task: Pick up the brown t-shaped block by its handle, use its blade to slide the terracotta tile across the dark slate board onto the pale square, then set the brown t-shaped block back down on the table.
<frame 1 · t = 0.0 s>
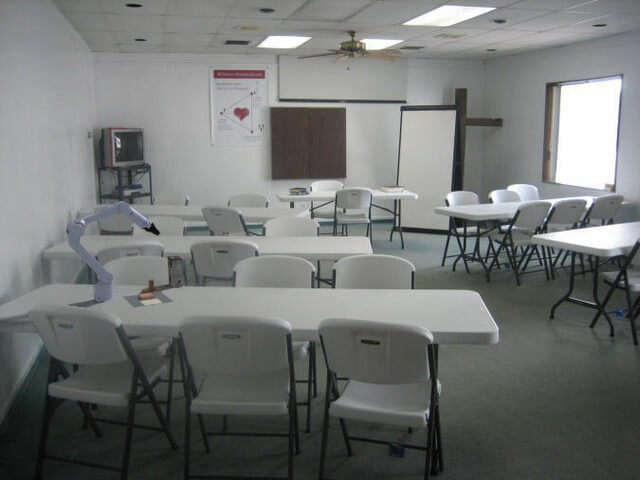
hand: (156, 233, 325), 32 cm above the table, tool tilted 50°, fingers open, 7 cm apart
tile: (146, 297, 319), resting on slate board
coffee box: (175, 285, 346), on the table
brown t-shaped block: (151, 292, 331), on the table
slate board: (147, 300, 316), on the table
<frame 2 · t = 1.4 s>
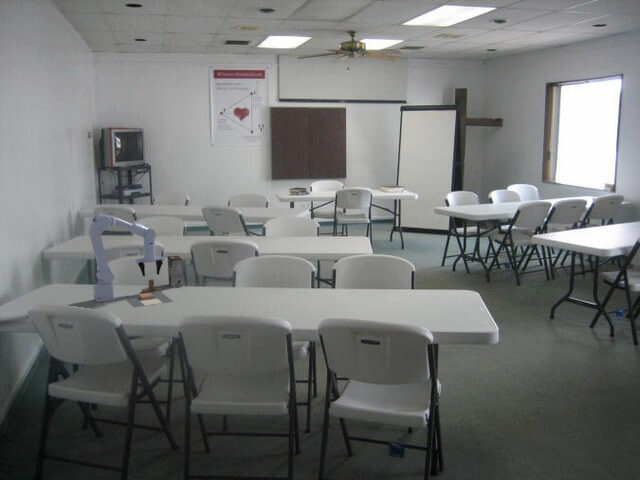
hand: (150, 275, 329), 9 cm above the table, tool pointing down, fingers open, 7 cm apart
nothing on the table moved.
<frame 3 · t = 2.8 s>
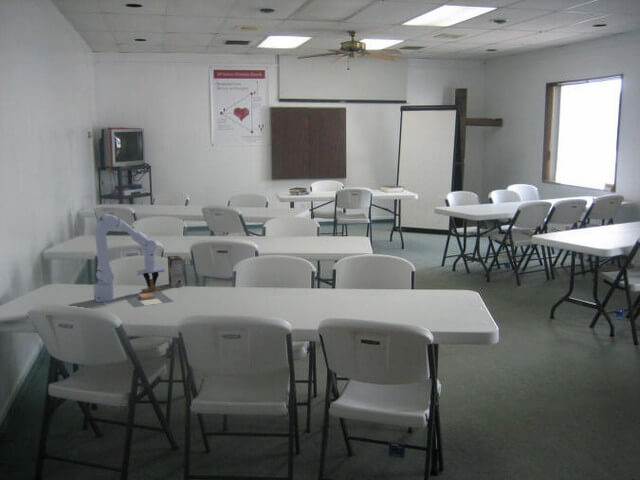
hand: (151, 286, 330), 3 cm above the table, tool pointing down, fingers closed on brown t-shaped block, 2 cm apart
brown t-shaped block: (151, 292, 331), on the table, touching gripper
everything else where it was.
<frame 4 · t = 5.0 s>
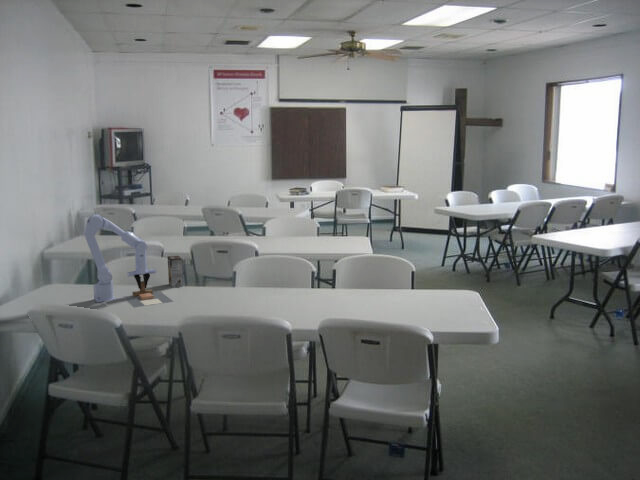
hand: (142, 288, 323), 4 cm above the table, tool pointing down, fingers closed on brown t-shaped block, 2 cm apart
brown t-shaped block: (142, 294, 324), resting on slate board, touching gripper
everything else where it was.
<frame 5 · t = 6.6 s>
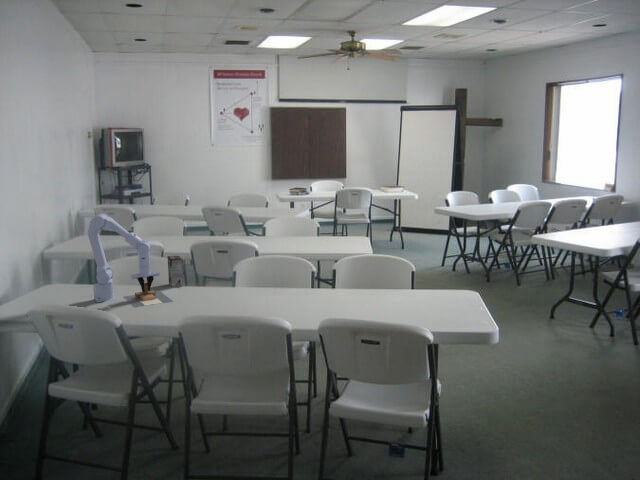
hand: (146, 291, 318), 4 cm above the table, tool pointing down, fingers closed on brown t-shaped block, 2 cm apart
tile: (147, 298, 316), point 1 cm above the table, touching brown t-shaped block
brown t-shaped block: (145, 295, 320), point 1 cm above the table, tilted 15°, touching gripper, tile
everything else where it was.
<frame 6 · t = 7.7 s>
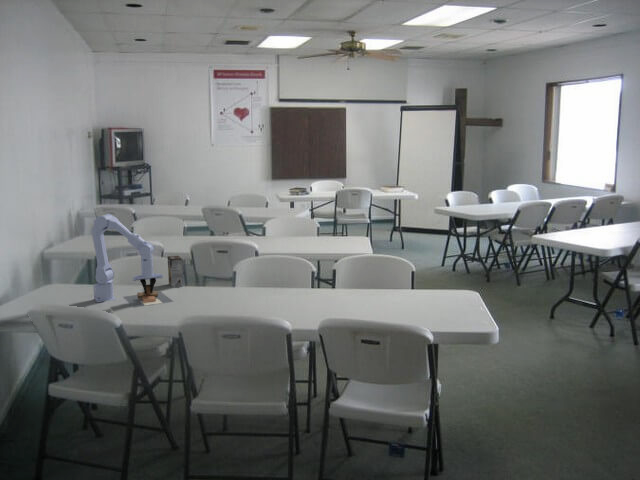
hand: (148, 293, 314), 4 cm above the table, tool pointing down, fingers closed on brown t-shaped block, 2 cm apart
tile: (148, 300, 314), point 1 cm above the table, touching brown t-shaped block, slate board
brown t-shaped block: (147, 296, 318), point 2 cm above the table, tilted 28°, touching gripper, tile
everything else where it was.
when the fingers open (4 cm above the table, at t = 11.5 s): brown t-shaped block stays where it is, point 1 cm above the table.
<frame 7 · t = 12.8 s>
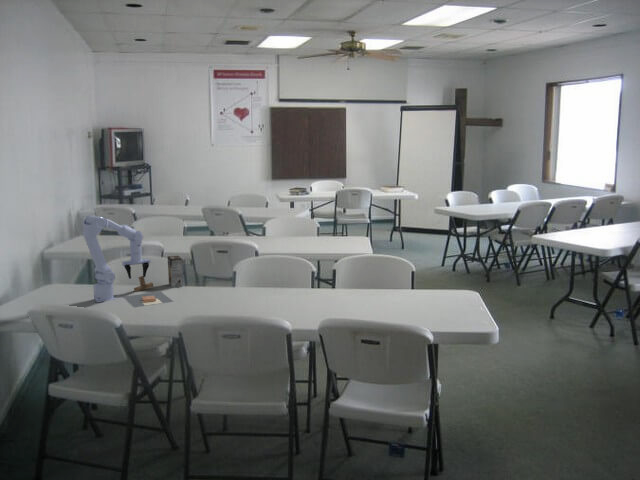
hand: (137, 277, 330), 8 cm above the table, tool pointing down, fingers open, 7 cm apart
tile: (148, 300, 314), point 1 cm above the table, touching slate board
brown t-shaped block: (144, 288, 334), point 1 cm above the table, tilted 12°
everything else where it was.
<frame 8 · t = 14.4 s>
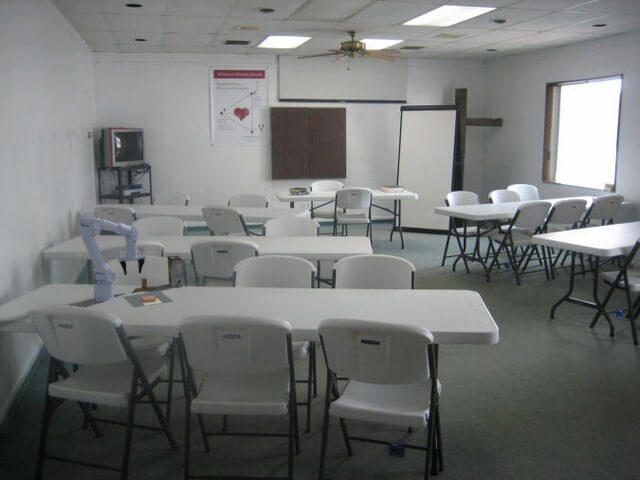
hand: (132, 273, 330), 10 cm above the table, tool pointing down, fingers open, 7 cm apart
brown t-shaped block: (144, 291, 334), on the table
everything else where it was.
at the end: tile inside the target area (3.3 cm from its centre), point 0.5 cm above the table; the gripper is holding nothing; brown t-shaped block tilted 0° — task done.
